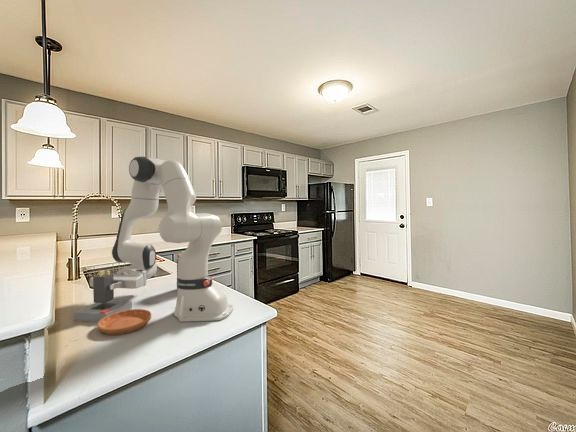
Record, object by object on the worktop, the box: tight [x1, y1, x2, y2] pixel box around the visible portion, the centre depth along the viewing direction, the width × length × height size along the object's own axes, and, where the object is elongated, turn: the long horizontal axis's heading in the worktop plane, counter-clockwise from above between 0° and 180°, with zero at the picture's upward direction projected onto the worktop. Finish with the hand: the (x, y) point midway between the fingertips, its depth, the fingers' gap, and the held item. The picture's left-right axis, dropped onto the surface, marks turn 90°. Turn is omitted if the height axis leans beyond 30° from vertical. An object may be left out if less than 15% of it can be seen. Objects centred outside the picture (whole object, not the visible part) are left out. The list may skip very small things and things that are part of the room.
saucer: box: [96, 308, 152, 336], centre depth 90 cm, size 16×16×3 cm
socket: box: [73, 299, 133, 323], centre depth 100 cm, size 13×13×4 cm
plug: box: [92, 269, 115, 304], centre depth 99 cm, size 4×4×12 cm
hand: (101, 287), depth 99 cm, fingers closed on plug, 4 cm apart
